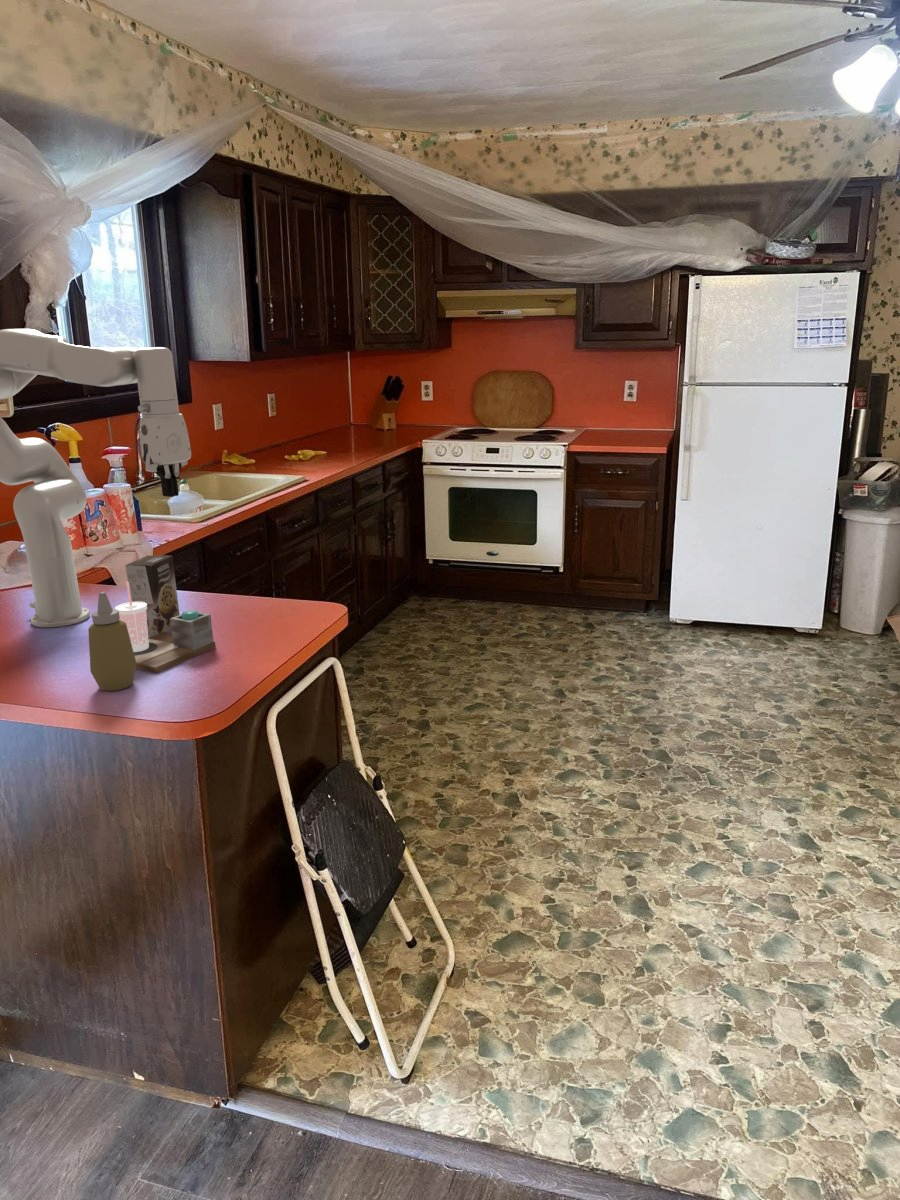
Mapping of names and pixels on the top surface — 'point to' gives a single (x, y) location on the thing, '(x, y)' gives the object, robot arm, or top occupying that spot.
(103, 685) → the squeeze bottle
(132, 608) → the beverage cup
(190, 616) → the button
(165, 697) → the top surface
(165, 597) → the coffee box
